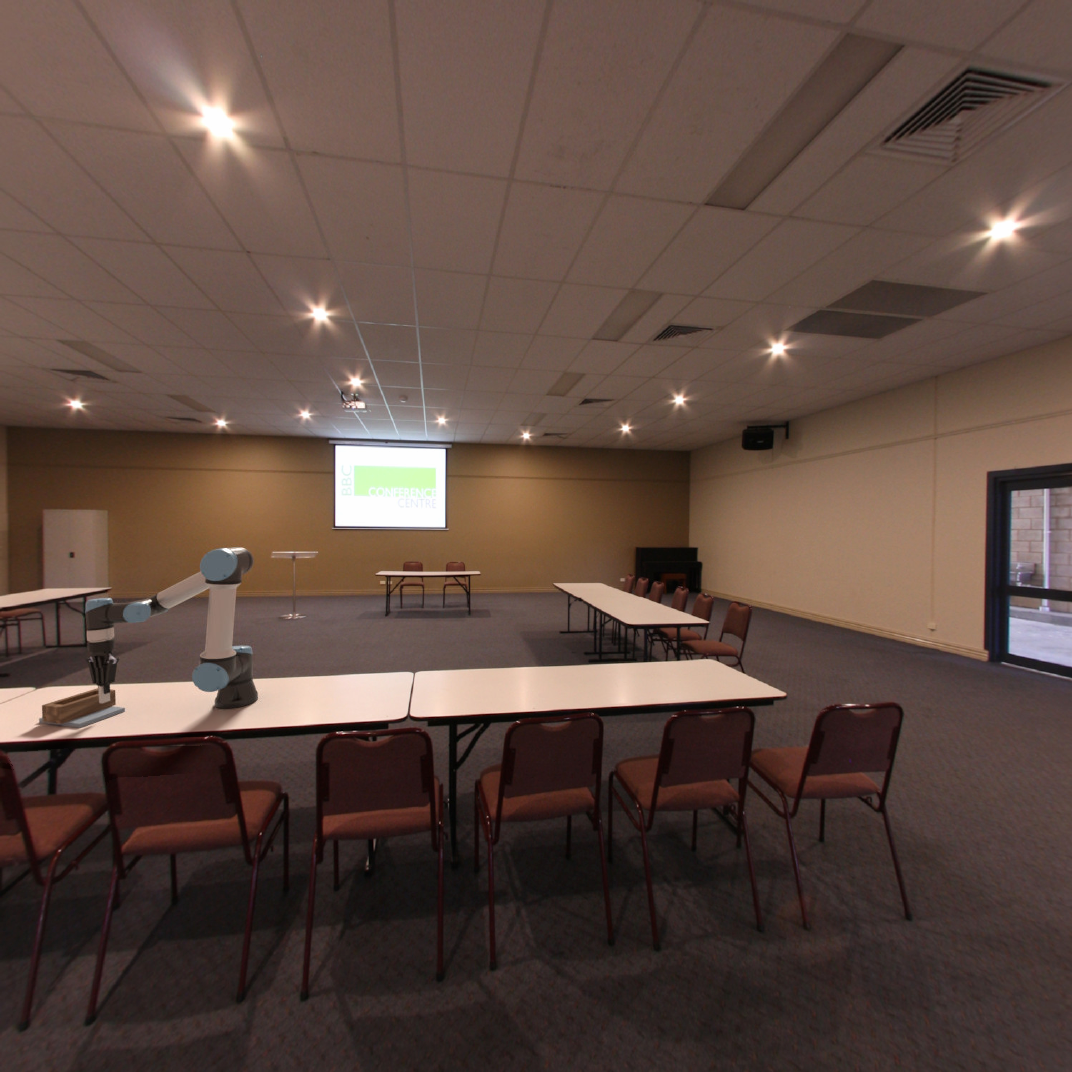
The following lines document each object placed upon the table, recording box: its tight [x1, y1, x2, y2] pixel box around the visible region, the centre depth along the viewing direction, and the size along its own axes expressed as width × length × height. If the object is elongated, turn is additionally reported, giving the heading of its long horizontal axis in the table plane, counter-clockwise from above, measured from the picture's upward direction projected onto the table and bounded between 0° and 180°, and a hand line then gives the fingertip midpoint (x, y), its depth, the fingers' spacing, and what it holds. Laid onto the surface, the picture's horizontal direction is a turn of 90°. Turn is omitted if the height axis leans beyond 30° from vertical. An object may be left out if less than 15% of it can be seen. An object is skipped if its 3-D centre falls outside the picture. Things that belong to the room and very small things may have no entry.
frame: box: [41, 687, 117, 724], centre depth 178 cm, size 9×18×6 cm, turn 167°
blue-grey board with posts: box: [38, 705, 126, 729], centre depth 178 cm, size 20×15×5 cm
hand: (104, 701), depth 176 cm, fingers closed
